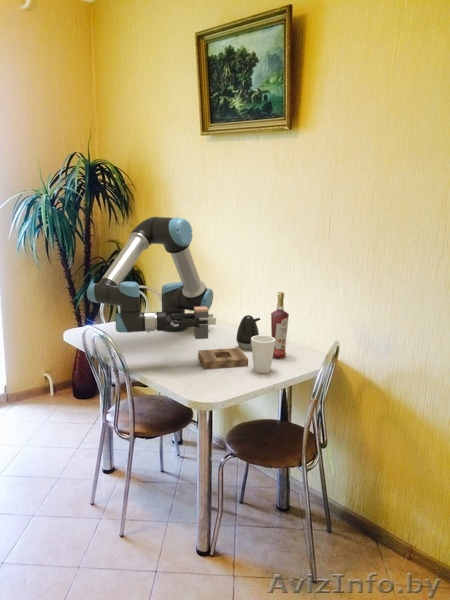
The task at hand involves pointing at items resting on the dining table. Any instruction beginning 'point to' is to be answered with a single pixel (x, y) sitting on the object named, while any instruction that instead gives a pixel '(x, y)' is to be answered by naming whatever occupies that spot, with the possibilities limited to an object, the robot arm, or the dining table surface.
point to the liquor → (279, 327)
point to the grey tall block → (203, 329)
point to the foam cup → (262, 352)
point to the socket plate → (222, 358)
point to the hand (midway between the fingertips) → (214, 319)
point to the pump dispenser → (247, 332)
